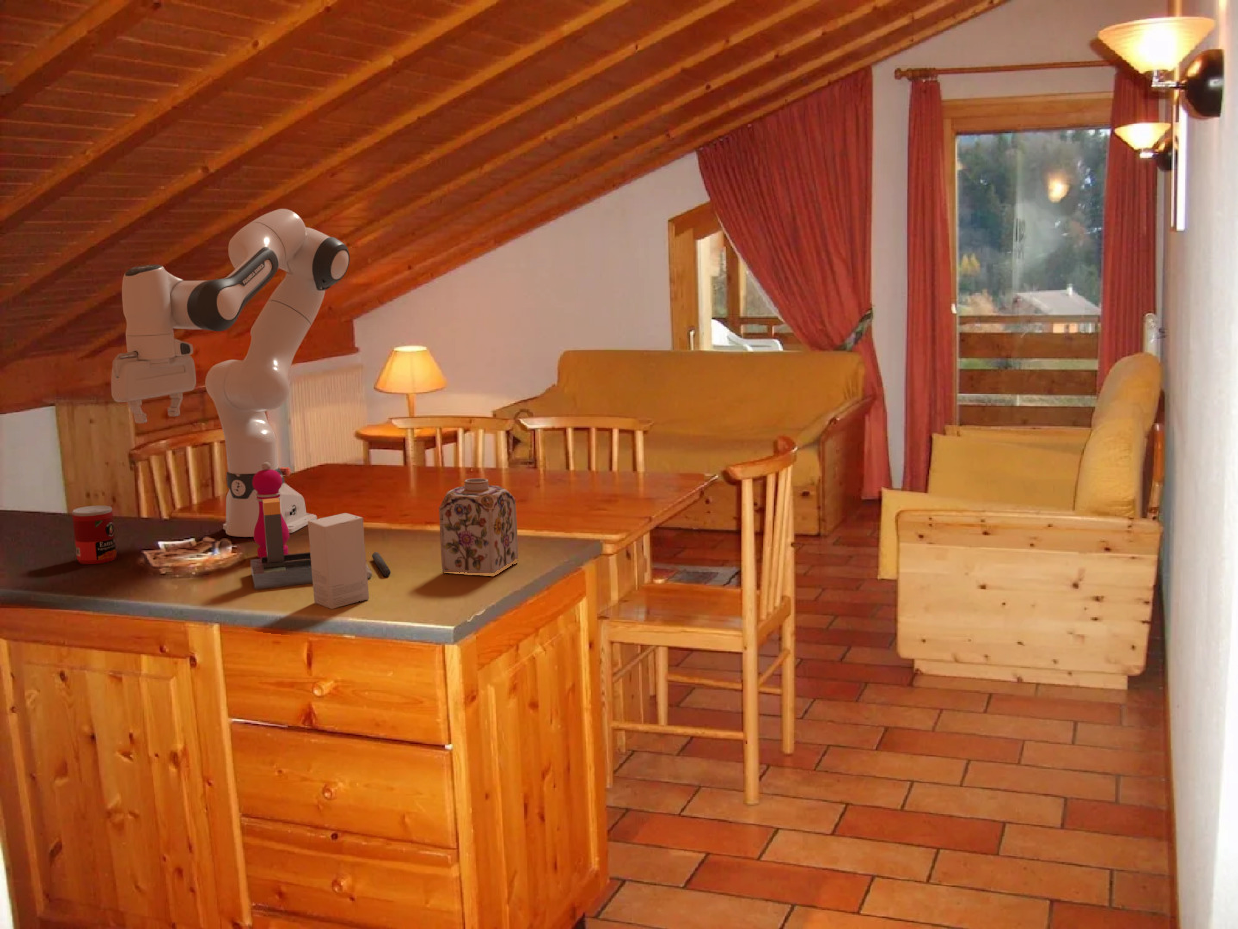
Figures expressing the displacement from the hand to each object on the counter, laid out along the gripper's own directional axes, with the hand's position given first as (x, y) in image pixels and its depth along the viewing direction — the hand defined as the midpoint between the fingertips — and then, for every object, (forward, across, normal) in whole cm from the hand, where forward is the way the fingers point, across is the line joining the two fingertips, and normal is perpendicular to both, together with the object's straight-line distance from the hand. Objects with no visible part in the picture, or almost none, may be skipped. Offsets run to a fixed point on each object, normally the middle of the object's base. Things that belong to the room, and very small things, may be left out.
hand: (157, 419), depth 249 cm
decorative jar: (+32, +19, -60) cm, 70 cm away
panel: (+31, +4, -28) cm, 42 cm away
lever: (+28, +1, -25) cm, 37 cm away
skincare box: (+31, -9, -46) cm, 56 cm away
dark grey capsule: (+31, +13, -39) cm, 51 cm away
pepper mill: (+31, +17, -12) cm, 38 cm away
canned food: (+31, +4, +23) cm, 39 cm away
